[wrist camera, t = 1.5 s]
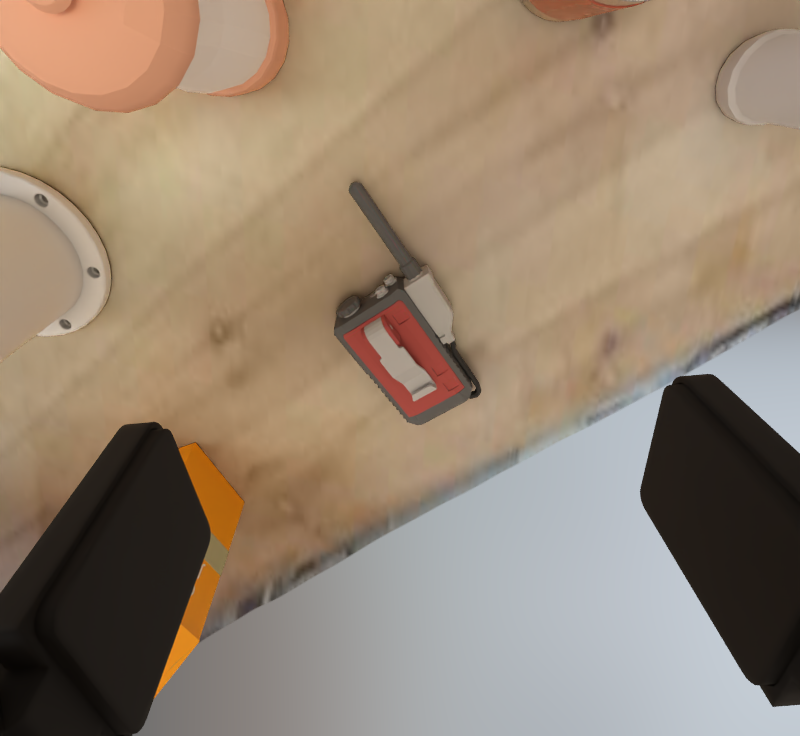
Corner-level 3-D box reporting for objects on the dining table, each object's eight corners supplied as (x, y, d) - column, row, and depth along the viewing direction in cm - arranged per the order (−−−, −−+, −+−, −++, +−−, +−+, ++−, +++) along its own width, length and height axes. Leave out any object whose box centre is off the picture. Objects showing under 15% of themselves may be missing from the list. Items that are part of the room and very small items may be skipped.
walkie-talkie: (500, 372, 43) (365, 170, 34) (510, 402, 39) (362, 183, 30) (415, 418, 46) (269, 240, 37) (417, 450, 42) (255, 260, 33)
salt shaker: (247, -80, 27) (35, -298, 11) (311, 62, 31) (222, 58, 14) (140, -15, 29) (-191, -123, 12) (212, 114, 32) (29, 163, 16)
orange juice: (182, 523, 52) (81, 745, 35) (128, 465, 48) (-17, 687, 31) (246, 502, 51) (174, 723, 34) (196, 441, 46) (85, 659, 29)
